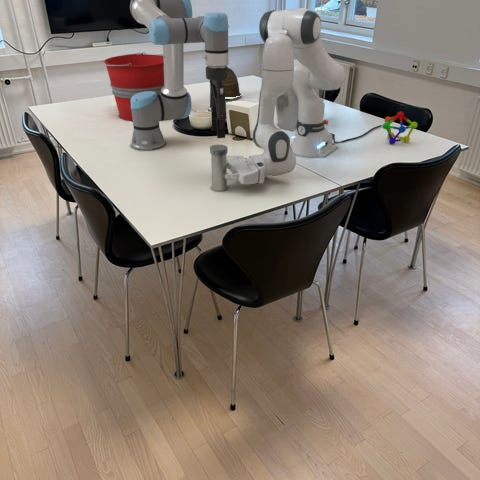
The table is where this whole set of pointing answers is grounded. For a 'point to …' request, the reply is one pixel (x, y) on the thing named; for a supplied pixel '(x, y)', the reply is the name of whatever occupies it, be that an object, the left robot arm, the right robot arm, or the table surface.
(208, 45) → the left robot arm
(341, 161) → the table surface
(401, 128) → the educational toy
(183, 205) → the table surface
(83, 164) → the table surface
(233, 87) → the bell
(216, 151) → the lid
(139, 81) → the bucket
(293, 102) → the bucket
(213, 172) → the jar
